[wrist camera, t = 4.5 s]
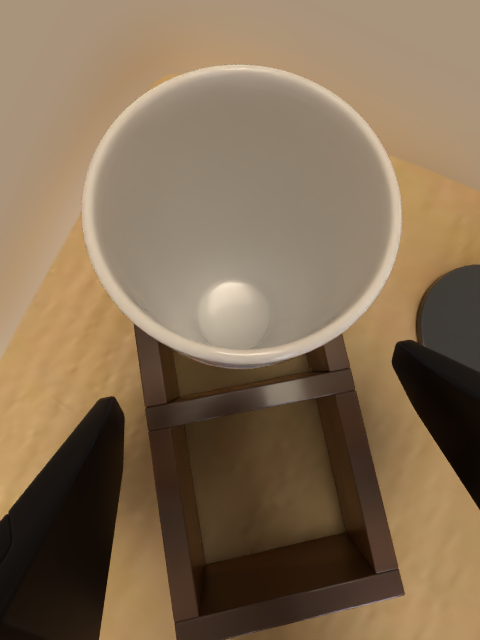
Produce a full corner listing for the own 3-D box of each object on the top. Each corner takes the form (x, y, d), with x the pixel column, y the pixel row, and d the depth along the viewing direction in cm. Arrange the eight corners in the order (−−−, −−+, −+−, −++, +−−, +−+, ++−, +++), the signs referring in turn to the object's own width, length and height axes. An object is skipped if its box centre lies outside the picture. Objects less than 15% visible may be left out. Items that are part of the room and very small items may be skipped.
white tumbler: (164, 305, 21) (11, 151, 6) (247, 254, 22) (286, 8, 7) (219, 390, 20) (191, 444, 5) (302, 333, 21) (477, 247, 6)
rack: (369, 548, 19) (405, 596, 15) (188, 591, 18) (177, 652, 14) (295, 230, 22) (310, 200, 18) (140, 256, 22) (120, 230, 18)
